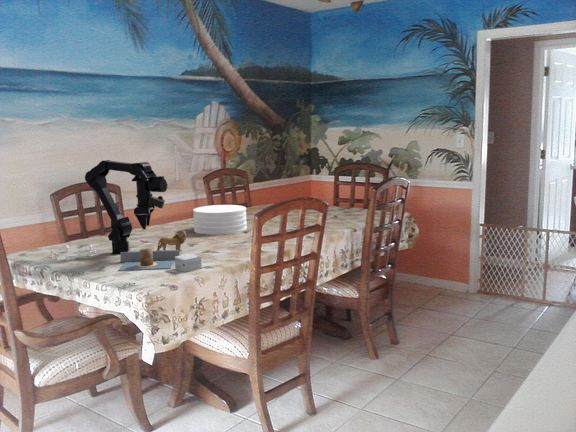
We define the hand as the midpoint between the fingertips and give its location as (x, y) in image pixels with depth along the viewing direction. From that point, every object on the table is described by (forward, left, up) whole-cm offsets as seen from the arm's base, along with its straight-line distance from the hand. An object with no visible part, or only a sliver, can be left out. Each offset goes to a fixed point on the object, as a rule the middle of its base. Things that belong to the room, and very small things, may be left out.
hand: (146, 227), depth 241 cm
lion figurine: (+10, +5, -12) cm, 17 cm away
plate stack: (+30, +53, -12) cm, 62 cm away
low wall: (+3, -12, -12) cm, 17 cm away
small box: (+20, -28, -12) cm, 36 cm away
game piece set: (-33, +5, -13) cm, 36 cm away
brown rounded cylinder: (+3, -21, -11) cm, 24 cm away
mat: (+3, -21, -12) cm, 24 cm away
